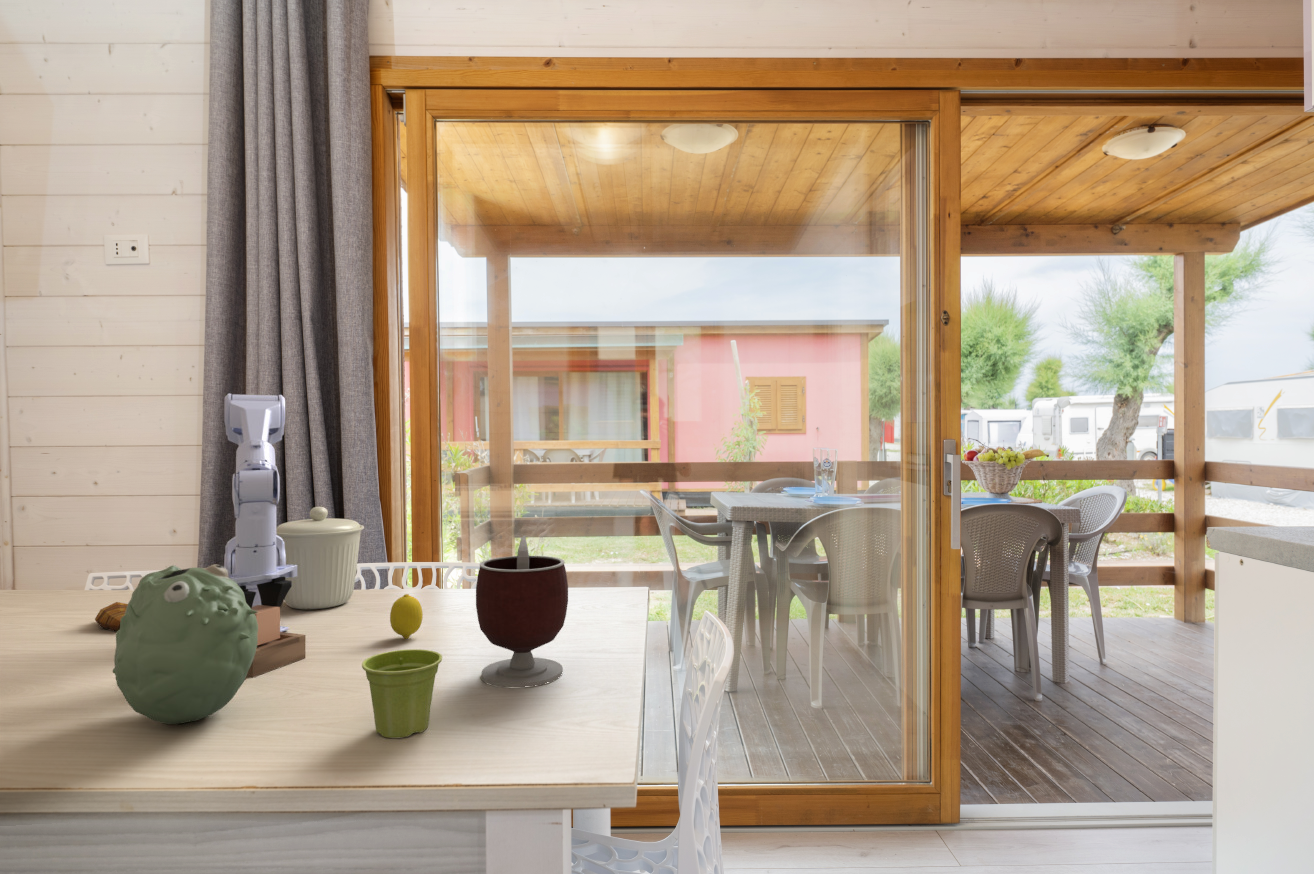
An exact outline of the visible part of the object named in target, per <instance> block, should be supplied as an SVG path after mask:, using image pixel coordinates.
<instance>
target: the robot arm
mask: <svg viewBox="0 0 1314 874" xmlns="http://www.w3.org/2000/svg"><path fill="white" fill-rule="evenodd" d="M223 405H224V408H223V409H224V410H223V411H224V412H223V413H224V425H225V435H226V436H227V441H229V442H231V443H234V444H236V445H238V447H237V449H236V452H235V453H236V454H235V456H236V457H235V473H233V474H232V485H231V486H232V490H231V491H232V493H231V495H232V498H231V499H232V503H233V508H234V509H233V510H234V518H236V520H235V535H234V536H233V537H232V538H231V539H229V540H228V541H227V543H226V545H225V546H224V547H225V550H224V551H225V553H224V558H223V559H224V563H223V564H224V565H223V567H225V568H226V569H227V571H228V577H229V578H230V579H231V580H233V581H235V582H236V583H237V584H238V586H239V587H240V588H241V589H242V591H243V592H244V595H245V600H246V603H247V604H248V606H249V607H250V608H251V610H252V607H253V606H256V605H265V606H274V607H280V610H281V609H282V607H283V603H284V602H285V601H284V599H285V597H286V595H287V593H288V591H289V590H290V588H291V587H292V581H289V580H285V578H288V577H297V565H289V564H288V565H286V555H285V545H284V541H283V539H282V538H281V537H279V536H278V535H276V528H277V505H278V504H279V502H280V491H281V490H280V481H281V480H280V474H279V470H278V466H276V450H275V447H274V446H273V444H276V443H278V442H280V441H282V440H283V436H284V433H285V425H286V398H285V397H284V396H283V395H282V394H278V395H273V394H269V395H267V394H234V393H233V394H232V393H227V395H225V396H224V404H223ZM274 499H275V501H276V504H275V503H274ZM288 630H289V626H282V625H280V632H285V631H288Z"/></svg>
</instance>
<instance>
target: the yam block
mask: <svg viewBox="0 0 1314 874" xmlns="http://www.w3.org/2000/svg"><path fill="white" fill-rule="evenodd" d="M252 610H255V611H257V612H258V613H255V616H256V619H257V623H258V633H257V637H258V642H257V645H260V644H263V643H266V642H269V641H272V640H275V639H278V638H280V626H281V609H280V607H274V606H265V605H256V606H253V607H252Z"/></svg>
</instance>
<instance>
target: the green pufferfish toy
mask: <svg viewBox="0 0 1314 874" xmlns="http://www.w3.org/2000/svg"><path fill="white" fill-rule="evenodd" d="M130 597H131V598H130V600H129V601H128V603H127V604H128V605H127V608H126V611H125V615H124V616H123V617H122V618H121V621H120V630H118V631H115V632H116V633H115V653H114V660H113V661H114V668H113V669H112V673H113V674H114V676H115V680H116V684H117V687H118V689H119V690H120V692H121V693H122V695H123V697H124V699H125V701H126V702H127V704H128V705H129V707H131V709H132V710H133V711H134V712H135V713H137V714H140V715H142V716H144V717H146V718H148V719H150V720H153V721H155V722H158V723H160V724H167V725H179V724H184V723H190V722H196V721H199V720H202V719H204V718H205V719H206V718H208V717H210V716H212V715H214V714H215V713H217V712H218V711H220V710H221V709H223V708H224V707H226V706H227V704H229V703H230V701H231V700H232V699H233V698H234V697H235V696H236V694H237V693H238V690H240V688H241V687H242V685H243V684H244V682H245V680H246V678H247V677H248V676H247V673H248V670H249V668H250V666H251V664H252V661H253V659H254V656H255V652H256V648H257V642H258V637H257V633H258V623H257V619H256V616H255V613H258V612H257V611H255V610H251V608H250V607H249V606H248V604H247V603H246V600H245V595H244V592H243V591H242V589H241V588H240V587H239V586H238V584H237V583H236V582H235V581H233V580H231V579H230V578H229V577H228V571H227V569H226V568H225V567H224V565H221V564H217V563H216V564H211V565H209V566H207V567H189V568H183V569H182V568H179V566H176V565H170V566H169V567H167V568H165V569H162V570H159V571H153V572H149V573H148V574H146V575H144V576H143V577H141V579H140V580H139V583H138V584H137V586H136V588H135V589H134V590H133V592H132V594H131V596H130Z"/></svg>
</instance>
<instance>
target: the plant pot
mask: <svg viewBox="0 0 1314 874" xmlns="http://www.w3.org/2000/svg"><path fill="white" fill-rule="evenodd" d="M442 660H443V656H442V653H439V652H437V651H434V650H429V649H414V648H413V649H411V648H410V649H398V650H391V651H386V652H380V653H377V654H375V655H372V656H369V657H367V658H365V659H364V660H363V661H362V663H361V667H362V669H363V670H364V671H365V674H366V676H365V677H366V680H368V683H369V689H370V698H371V704H372V710H373V711H372V712H373V716H374V724H375V725H374V726H375V732H376V733H377V734H380V735H381V736H382V737H383V738H388V739H396V738H397V739H398V738H399V739H401V738H407V737H410V736H411V735H412V734H414V733H421V732H423V731H425V730H427V728H428V726H429V722H430V714H431V707H432V699H433V692H434V687H435V679H436V675H437V673H438V671H439V665H440V664H441V662H442Z"/></svg>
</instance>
